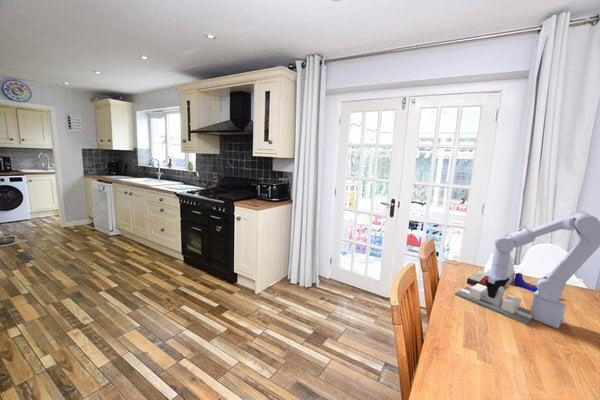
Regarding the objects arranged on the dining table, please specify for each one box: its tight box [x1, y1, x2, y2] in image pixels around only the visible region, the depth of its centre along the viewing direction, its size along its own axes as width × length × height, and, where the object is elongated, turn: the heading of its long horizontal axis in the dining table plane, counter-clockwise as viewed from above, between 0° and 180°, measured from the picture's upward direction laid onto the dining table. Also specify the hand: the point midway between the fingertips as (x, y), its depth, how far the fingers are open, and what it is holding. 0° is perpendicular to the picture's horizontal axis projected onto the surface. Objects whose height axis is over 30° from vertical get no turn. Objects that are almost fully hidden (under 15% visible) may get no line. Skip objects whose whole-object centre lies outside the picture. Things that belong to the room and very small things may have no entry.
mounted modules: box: [469, 284, 522, 314], centre depth 115 cm, size 16×8×4 cm, turn 37°
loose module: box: [485, 286, 505, 306], centre depth 115 cm, size 5×4×7 cm
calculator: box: [466, 269, 490, 287], centre depth 135 cm, size 11×4×15 cm
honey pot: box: [483, 253, 516, 284], centre depth 142 cm, size 13×13×18 cm
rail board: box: [454, 286, 533, 326], centre depth 116 cm, size 26×12×1 cm, turn 37°
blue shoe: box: [513, 272, 538, 293], centre depth 132 cm, size 12×4×6 cm, turn 27°
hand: (494, 294), depth 115 cm, fingers open, 7 cm apart
